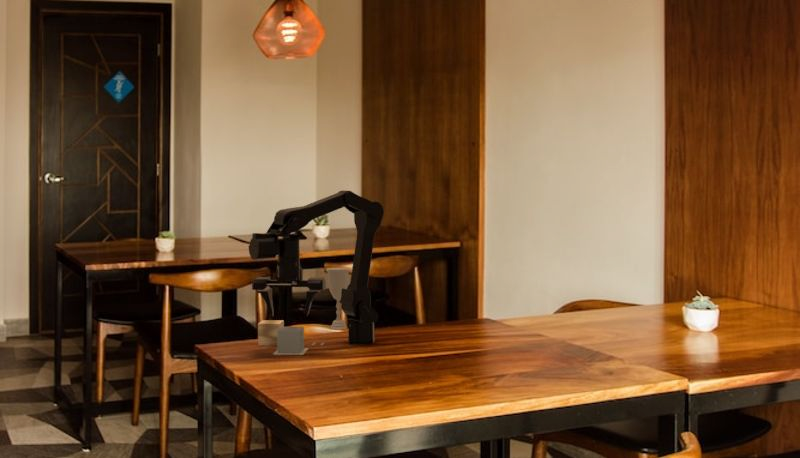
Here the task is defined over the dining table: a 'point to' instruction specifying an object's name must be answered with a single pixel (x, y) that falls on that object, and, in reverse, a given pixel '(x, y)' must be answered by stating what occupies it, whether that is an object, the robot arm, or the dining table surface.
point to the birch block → (268, 332)
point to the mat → (290, 353)
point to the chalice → (337, 291)
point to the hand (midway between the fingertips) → (289, 316)
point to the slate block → (290, 339)
